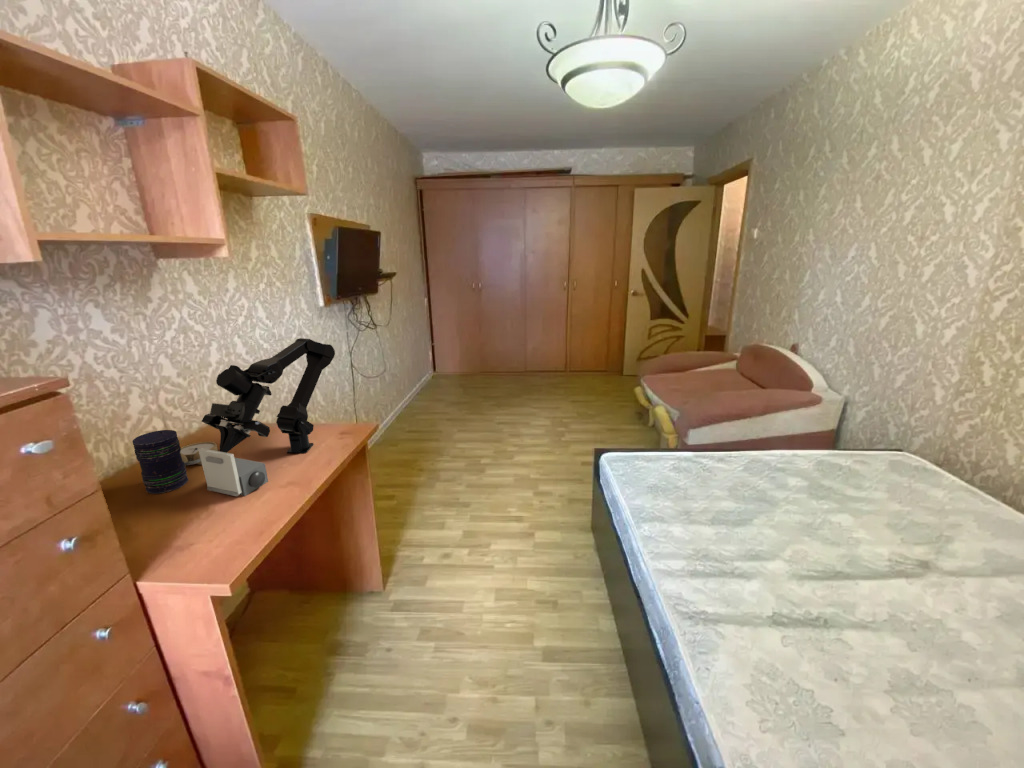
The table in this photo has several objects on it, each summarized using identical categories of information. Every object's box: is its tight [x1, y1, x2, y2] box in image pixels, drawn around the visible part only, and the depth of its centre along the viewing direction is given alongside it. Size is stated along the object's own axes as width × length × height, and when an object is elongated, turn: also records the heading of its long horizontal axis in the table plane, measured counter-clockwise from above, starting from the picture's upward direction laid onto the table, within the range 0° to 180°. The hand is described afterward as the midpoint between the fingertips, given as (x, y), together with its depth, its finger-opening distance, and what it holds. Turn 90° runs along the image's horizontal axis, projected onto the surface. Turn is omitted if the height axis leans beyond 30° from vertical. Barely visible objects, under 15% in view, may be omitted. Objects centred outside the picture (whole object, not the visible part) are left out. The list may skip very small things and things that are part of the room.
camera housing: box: [234, 457, 269, 497], centre depth 124 cm, size 8×13×6 cm, turn 73°
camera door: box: [199, 448, 242, 497], centre depth 118 cm, size 2×11×12 cm, turn 73°
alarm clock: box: [180, 441, 219, 467], centre depth 138 cm, size 11×5×15 cm
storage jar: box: [132, 429, 189, 495], centre depth 122 cm, size 10×10×15 cm
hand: (221, 454), depth 118 cm, fingers closed
